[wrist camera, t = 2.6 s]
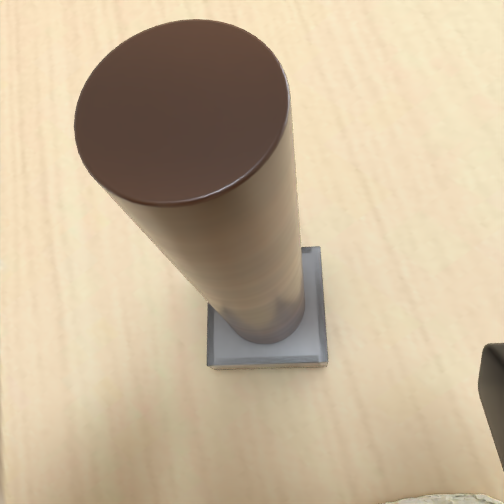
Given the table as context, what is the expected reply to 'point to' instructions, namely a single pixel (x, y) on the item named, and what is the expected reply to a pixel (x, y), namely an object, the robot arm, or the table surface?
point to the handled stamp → (211, 182)
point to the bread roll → (450, 499)
